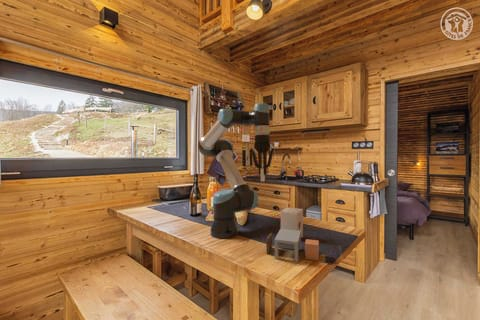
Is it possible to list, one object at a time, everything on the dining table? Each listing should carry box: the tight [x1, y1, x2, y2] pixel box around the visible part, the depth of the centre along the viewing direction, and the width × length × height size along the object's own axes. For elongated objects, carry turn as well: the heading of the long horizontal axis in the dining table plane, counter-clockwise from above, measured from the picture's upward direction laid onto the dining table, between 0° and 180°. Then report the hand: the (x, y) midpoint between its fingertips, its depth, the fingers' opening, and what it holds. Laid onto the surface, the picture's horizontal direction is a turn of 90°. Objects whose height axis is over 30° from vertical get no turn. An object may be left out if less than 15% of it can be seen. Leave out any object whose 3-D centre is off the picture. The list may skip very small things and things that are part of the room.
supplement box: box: [280, 206, 304, 239], centre depth 113 cm, size 9×9×15 cm
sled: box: [265, 232, 326, 264], centre depth 93 cm, size 23×7×8 cm, turn 70°
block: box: [304, 239, 320, 260], centre depth 90 cm, size 5×5×6 cm
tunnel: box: [274, 228, 302, 263], centre depth 94 cm, size 9×13×9 cm
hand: (262, 181), depth 114 cm, fingers closed
